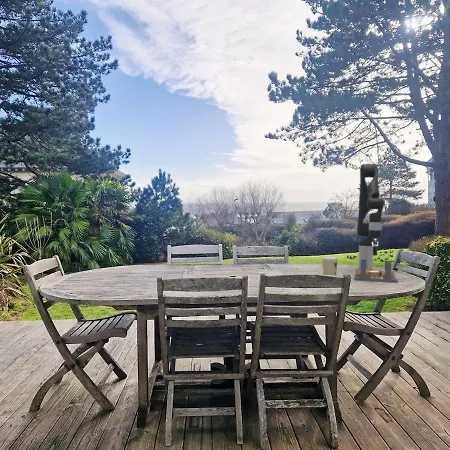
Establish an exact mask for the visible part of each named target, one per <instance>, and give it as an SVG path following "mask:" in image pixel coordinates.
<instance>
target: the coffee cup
mask: <svg viewBox="0 0 450 450" xmlns="http://www.w3.org/2000/svg"><path fill="white" fill-rule="evenodd" d="M321 260H322V273H323V275H335V276H336V277H337V270H338V269H337V268H338V258H337V257H334V256H333V257H332V256H331V257H330V256H325V257H322V259H321Z"/></svg>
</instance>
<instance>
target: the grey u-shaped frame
mask: <svg viewBox="0 0 450 450" xmlns="http://www.w3.org/2000/svg"><path fill="white" fill-rule="evenodd" d="M359 270H360V269H359ZM384 271H385V277H380V276H366V260H361V270H360V275H355V274H354V278H353V279H354V281H363V282H377V283H378V282H380V283H394V284H395V283H397V284H398V280H399V279H397V277H395V276H394V277H391V271H392V262H391V260H384Z"/></svg>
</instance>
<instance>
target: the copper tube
mask: <svg viewBox="0 0 450 450" xmlns="http://www.w3.org/2000/svg"><path fill="white" fill-rule="evenodd" d="M355 275H360V269H355V274H354V276H355ZM366 276H380V277H385V270H381V269H380V270H379V269H377V270H375V269H372V270H366ZM391 277H395V271H394V270H391Z"/></svg>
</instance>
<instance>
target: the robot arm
mask: <svg viewBox="0 0 450 450" xmlns="http://www.w3.org/2000/svg"><path fill="white" fill-rule="evenodd" d="M378 169H379V168H378V166H377V164H375V163H365V164H364V163H363V164H361V165H360V168H359V174H360V175H359V197H358V198H359V199H358V216H357V227H356V234H357V236H358V237H366V238H365V239H362V240H360V241H359V242H358V270H361V260H366V270H373V256H375V257H376V256H378V249H379V239H378V238H382V228H383V227H382V213H383V210H384V207H385V200H384V198H380V189H379V171H378ZM366 178H372V179H371V181H370V182H369V184H368V185H367V181H366ZM371 210H377V211H376V212H372V213H369V212H370V211H371ZM368 213H369V217H368V218H369V223H364V220H365V218H366V216H367V215H368Z"/></svg>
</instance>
